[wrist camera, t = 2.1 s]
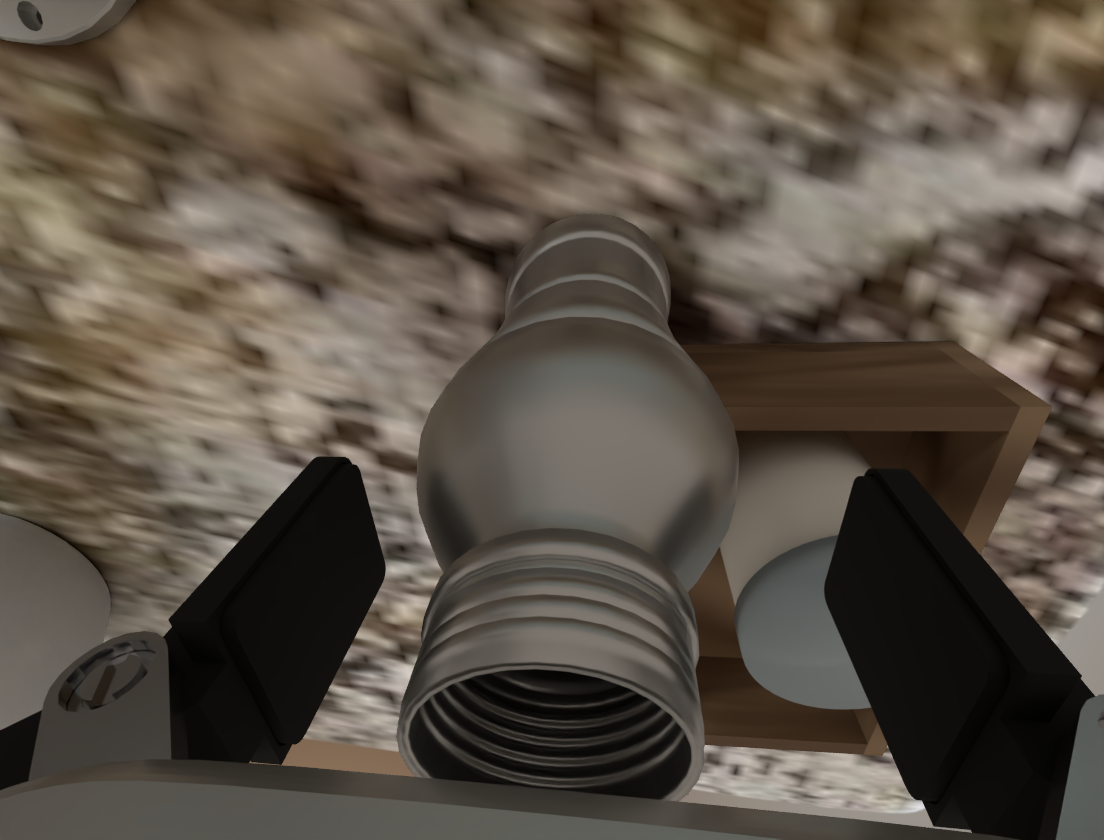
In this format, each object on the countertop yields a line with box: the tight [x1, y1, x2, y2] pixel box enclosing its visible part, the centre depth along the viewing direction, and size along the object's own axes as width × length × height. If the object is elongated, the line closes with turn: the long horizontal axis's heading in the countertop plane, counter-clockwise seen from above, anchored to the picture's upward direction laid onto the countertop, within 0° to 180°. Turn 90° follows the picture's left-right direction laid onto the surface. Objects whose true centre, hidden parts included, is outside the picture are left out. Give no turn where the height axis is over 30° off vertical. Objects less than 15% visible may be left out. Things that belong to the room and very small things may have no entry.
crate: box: [680, 341, 1052, 756], centre depth 27 cm, size 22×14×6 cm, turn 3°
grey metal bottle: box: [396, 214, 739, 802], centre depth 15 cm, size 6×7×20 cm
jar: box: [719, 430, 871, 709], centre depth 22 cm, size 7×7×10 cm
